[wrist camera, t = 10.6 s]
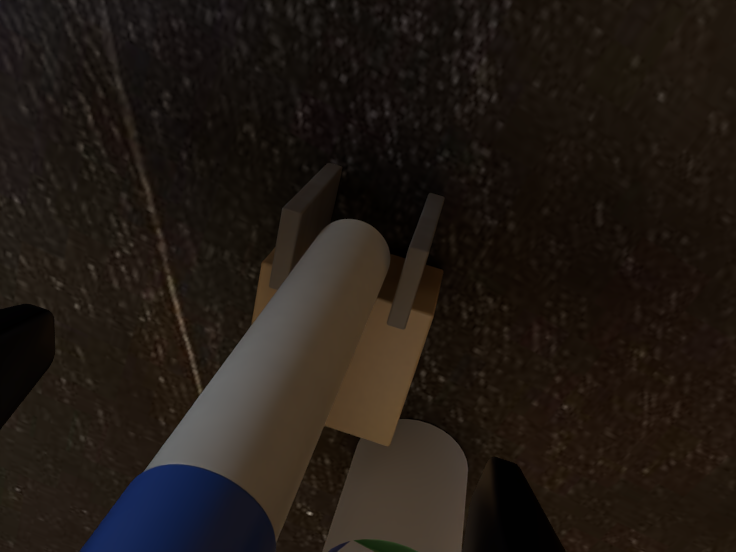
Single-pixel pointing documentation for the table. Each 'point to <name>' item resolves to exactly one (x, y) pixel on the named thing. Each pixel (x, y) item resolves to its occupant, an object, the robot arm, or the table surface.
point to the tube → (403, 494)
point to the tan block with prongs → (386, 321)
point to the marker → (257, 412)
